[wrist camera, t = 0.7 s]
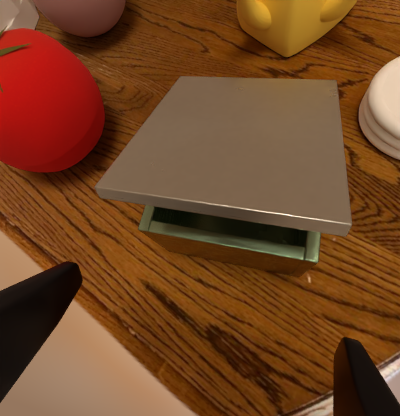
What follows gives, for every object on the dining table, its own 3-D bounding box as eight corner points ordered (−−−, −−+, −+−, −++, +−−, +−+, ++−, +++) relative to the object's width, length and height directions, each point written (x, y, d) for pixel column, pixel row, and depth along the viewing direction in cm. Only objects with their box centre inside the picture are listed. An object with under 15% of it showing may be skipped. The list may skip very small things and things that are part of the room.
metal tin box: (299, 277, 22) (318, 263, 15) (168, 251, 25) (137, 229, 18) (313, 147, 26) (333, 90, 19) (198, 137, 29) (182, 85, 22)
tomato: (73, 208, 29) (-35, 147, 18) (1, 157, 33) (-117, 84, 23) (144, 119, 31) (87, 19, 21) (68, 83, 36) (-10, -13, 25)
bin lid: (346, 237, 11) (352, 224, 10) (99, 198, 14) (93, 186, 13) (333, 91, 19) (337, 79, 19) (181, 85, 22) (180, 75, 22)
